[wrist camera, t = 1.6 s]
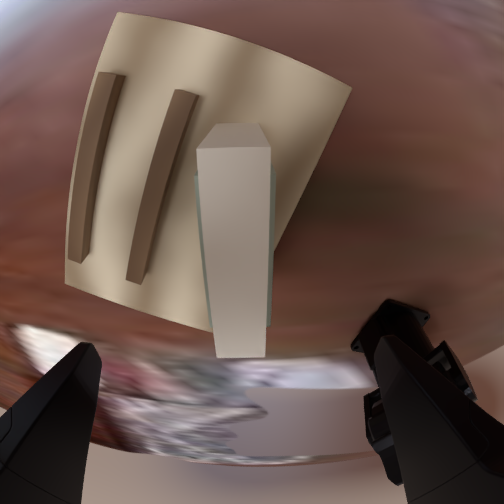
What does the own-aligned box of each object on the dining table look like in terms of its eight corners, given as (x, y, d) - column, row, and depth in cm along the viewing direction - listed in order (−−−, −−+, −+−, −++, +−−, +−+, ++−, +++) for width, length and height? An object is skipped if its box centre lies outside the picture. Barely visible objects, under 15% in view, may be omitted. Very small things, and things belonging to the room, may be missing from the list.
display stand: (346, 87, 16) (361, 88, 14) (230, 328, 26) (229, 350, 23) (123, 15, 13) (107, 7, 10) (69, 276, 22) (57, 294, 20)
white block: (211, 123, 16) (187, 149, 9) (263, 122, 16) (279, 147, 9) (219, 269, 21) (210, 357, 14) (261, 268, 21) (271, 356, 14)
